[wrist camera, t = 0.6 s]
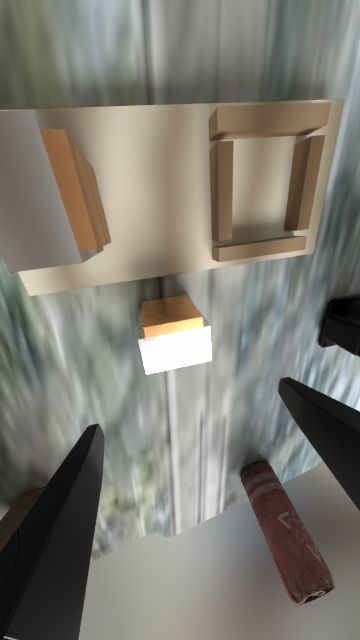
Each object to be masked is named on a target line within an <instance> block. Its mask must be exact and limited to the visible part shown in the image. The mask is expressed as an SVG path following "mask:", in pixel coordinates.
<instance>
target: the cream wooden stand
mask: <svg viewBox="0 0 360 640" xmlns="http://www.w3.org/2000/svg"><path fill="white" fill-rule="evenodd" d="M343 104H344V99H328V100H297V101H265V102H234V103H202V104H171V105H139V106H108V107H76V108H45V109H13V110H0V254H1V256H2V258H3V260H4V262H5V264H6V266H7V268H8V270H9V272H10V273H12V272H18V273H19V275H20V278H21V280H22V282H23V284H24V286H25V288H26V290H27V292H28V294H29V296H33V295H40V294H47V293H53V292H60V291H67V290H73V289H80V288H87V287H93V286H100V285H107V284H113V283H120V282H127V281H133V280H140V279H147V278H153V277H160V276H167V275H173V274H180V273H187V272H193V271H200V270H207V269H213V268H220V267H227V266H233V265H240V264H247V263H253V262H260V261H267V260H273V259H280V258H286V257H293V256H300V255H306V254H313V253H314V248H315V243H316V238H317V233H318V228H319V223H320V218H321V213H322V209H323V204H324V199H325V194H326V189H327V184H328V179H329V174H330V169H331V164H332V159H333V154H334V149H335V144H336V139H337V134H338V129H339V124H340V119H341V114H342V109H343Z"/></svg>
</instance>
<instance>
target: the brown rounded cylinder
mask: <svg viewBox="0 0 360 640" xmlns="http://www.w3.org/2000/svg"><path fill="white" fill-rule="evenodd" d="M241 481H242V483H243V486H244V488H245V491H246V493H247V496H248V498H249V500H250V503H251V505H252V508H253V510H254V513H255V515H256V517H257V520H258V522H259V525H260V527H261V529H262V532H263V534H264V536H265V539H266V542H267V544H268V546H269V549H270V551H271V554H272V556H273V559H274V561H275V564H276V566H277V570H278V573H279V575H280V578H281V580H282V583H283V585H284V587H285V589H286V591H287V594H288V596H289V598H290V599H291V601H292V602H293V603H294V604H295V605H301V604H305V603H307V602H310V601H312V600H315V599H317V598H319V597H321V596H323V595H325V594H327V593H328V592H330V591H331V590H333V589H334V588H335V585H334V582H333V578H332V574H331V572H330V571H329V569H328V567H327V565H326V563H325V562H324V560H323V558H322V556H321V555H320V553H319V551H318V549H317V547H316V546H315V544H314V542H313V540H312V538H311V537H310V535H309V533H308V532H307V530H306V528H305V526H304V524H303V522H302V521H301V519H300V517H299V515H298V513H297V512H296V510H295V508H294V507H293V505H292V503H291V501H290V499H289V498H288V496H287V494H286V492H285V490H284V489H283V487H282V485H281V483H280V481H279V480H278V478H277V476H276V474H275V472H274V471H273V469H272V467H271V466H270V465H269V464H268V463H266V462H264V461H260V462H255V463H252V464H251V465H249V466H247V467H246V468H245V469H244V470H243V471H242V473H241Z"/></svg>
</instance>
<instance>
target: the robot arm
mask: <svg viewBox="0 0 360 640" xmlns="http://www.w3.org/2000/svg"><path fill="white" fill-rule="evenodd" d="M333 345H338V346H339V347H341V348H343V349H345V350H346V351H348V352H350V353H351V354H353V355H357V356H359V357H360V294H357V295H351V296H346V297H341V298H335V299H332V300H331V301H330V303H329V307H328V310H327V314H326V318H325V322H324V326H323V329H322V333H321V337H320V341H319V346H321V347H323V348H324V347H329V346H333ZM278 392H279V395H280V397H281V398H282V400H283V402H284V403H285V405H286V407H287V408H288V410H289V412H290V413H291V415H292V417H293V419H294V420H295V422H296V423H297V425H298V426H299V428H300V429H301V431H302V432H303V433H304V435H305V436H306V437H307V439H308V440H309V442H310V443H311V444H312V446H313V447H314V449H315V450H316V451H317V453H318V454H319V455H320V457H321V458H322V460H323V461H324V462H325V464H326V465H327V467H328V468H329V469H330V471H331V472H332V473H333V475H334V476H335V478H336V479H337V480H338V482H339V483H340V485H341V486H342V487H343V489H344V490H345V492H346V493H347V494H348V495H349V497H350V498H351V500H352V501H353V502H354V504H355V505H356V507H357V508H358V509H359V511H360V411H357V410H355V409H353V408H351V407H349V406H347V405H345V404H343V403H341V402H339V401H337V400H335V399H333V398H331V397H329V396H327V395H325V394H323V393H321V392H319V391H316V390H314V389H312V388H310V387H308V386H306V385H304V384H302V383H300V382H298V381H296V380H294V379H292V378H290V377H285V378H281V379H280V381H279V388H278ZM103 459H104V434H103V432H102V429H101V427H100V425H99V424H93V425H90V426H88V427H87V428H86V430H85V431H84V433H83V434H82V436H81V437H80V438H79V440H78V441H77V443H76V444H75V446H74V447H73V448H72V450H71V451H70V453H69V454H68V456H67V457H66V458H65V460H64V461H63V463H62V464H61V466H60V467H59V468H58V470H57V471H56V473H55V474H54V476H53V477H52V478H51V480H50V481H49V483H48V484H47V486H46V487H45V488H44V490H43V491H42V493H41V494H40V496H39V497H38V498H37V500H36V501H35V503H34V504H33V506H32V507H31V508H30V510H29V511H28V513H27V514H26V516H25V517H24V518H23V520H22V521H21V523H20V524H19V528H16V530H15V531H14V533H13V534H12V535H11V537H10V538H9V540H8V541H7V542H6V544H5V545H4V547H3V548H2V549H1V551H0V640H78V638H79V632H80V625H81V618H82V611H83V605H84V598H85V591H86V585H87V578H88V571H89V564H90V558H91V551H92V545H93V538H94V531H95V525H96V518H97V511H98V505H99V498H100V491H101V485H102V476H103Z"/></svg>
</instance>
